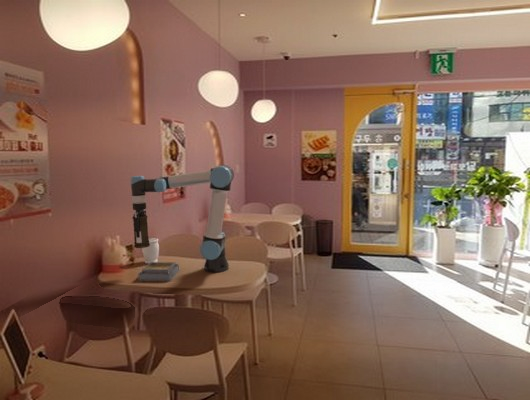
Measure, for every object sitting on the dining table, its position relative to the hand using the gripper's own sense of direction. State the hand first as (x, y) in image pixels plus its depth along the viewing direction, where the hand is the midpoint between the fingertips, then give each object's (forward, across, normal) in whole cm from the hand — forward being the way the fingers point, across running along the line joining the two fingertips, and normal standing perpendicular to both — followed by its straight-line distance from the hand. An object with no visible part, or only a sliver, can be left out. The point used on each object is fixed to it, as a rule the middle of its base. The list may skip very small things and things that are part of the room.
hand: (141, 241), depth 240 cm
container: (+3, 0, 0) cm, 3 cm away
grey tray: (+21, +1, +10) cm, 23 cm away
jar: (+21, -28, -5) cm, 35 cm away
